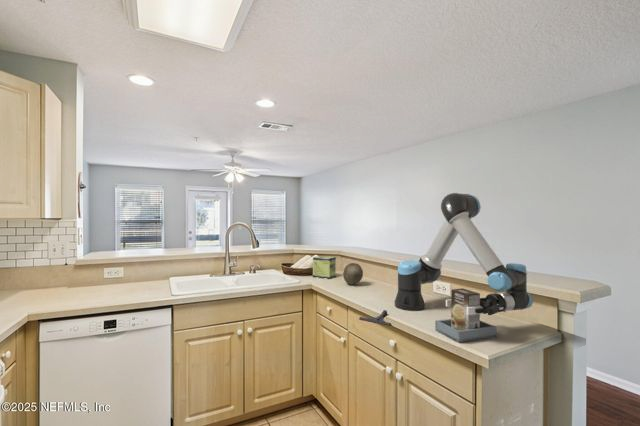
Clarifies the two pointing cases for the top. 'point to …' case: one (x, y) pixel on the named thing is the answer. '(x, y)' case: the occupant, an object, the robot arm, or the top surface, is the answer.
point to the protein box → (324, 267)
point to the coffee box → (464, 309)
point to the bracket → (377, 319)
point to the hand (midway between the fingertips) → (456, 307)
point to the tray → (465, 331)
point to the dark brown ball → (353, 273)
